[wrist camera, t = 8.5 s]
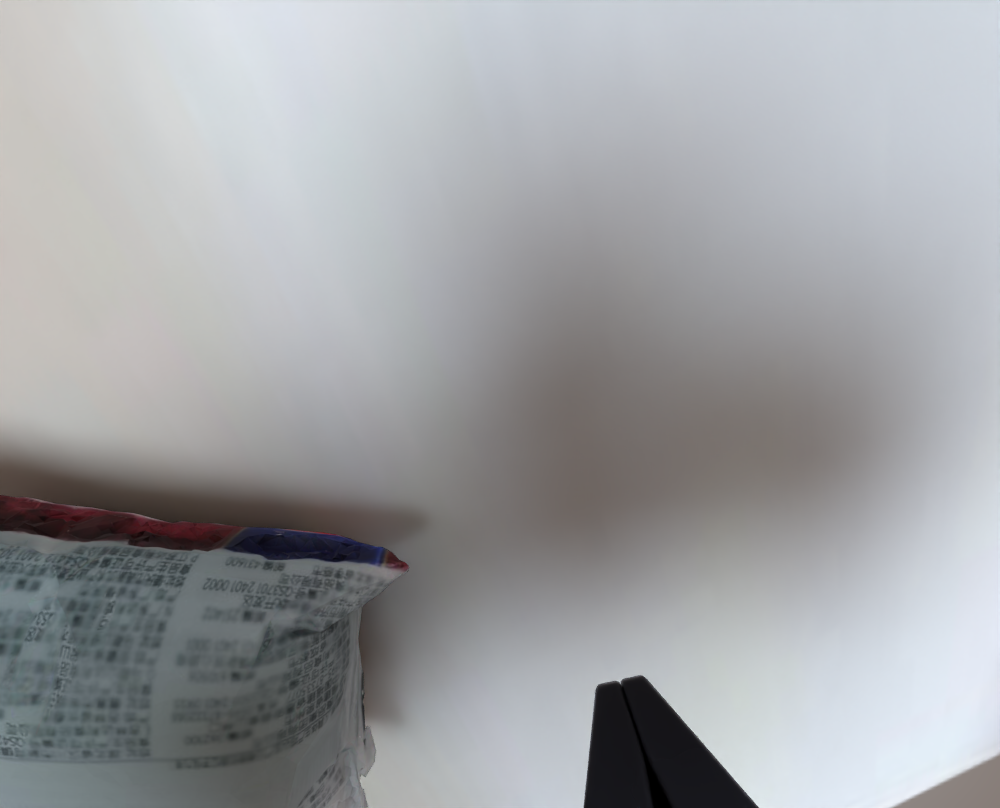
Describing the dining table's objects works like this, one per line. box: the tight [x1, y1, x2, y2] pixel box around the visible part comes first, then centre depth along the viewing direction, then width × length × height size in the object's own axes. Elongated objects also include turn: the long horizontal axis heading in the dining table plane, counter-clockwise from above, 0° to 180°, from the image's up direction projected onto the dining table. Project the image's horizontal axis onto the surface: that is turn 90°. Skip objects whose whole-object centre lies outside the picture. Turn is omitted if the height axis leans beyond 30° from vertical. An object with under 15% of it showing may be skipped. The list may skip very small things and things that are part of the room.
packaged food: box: [0, 495, 409, 808], centre depth 11 cm, size 9×12×5 cm
